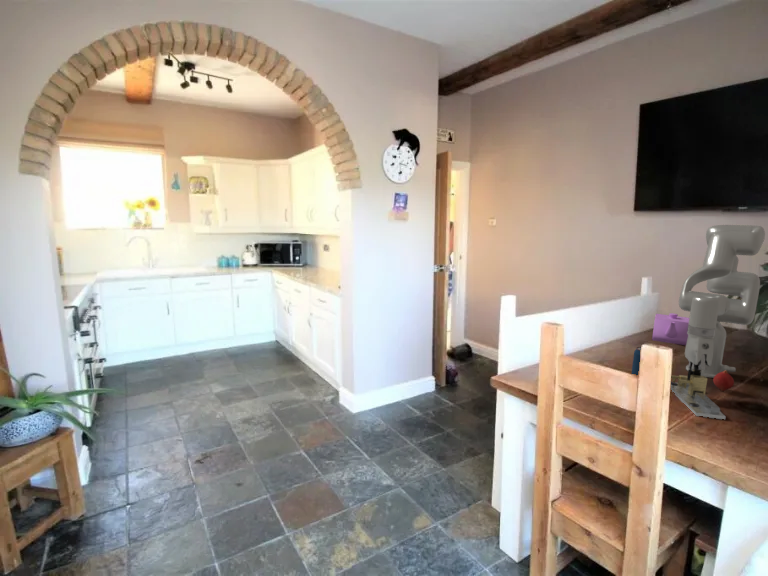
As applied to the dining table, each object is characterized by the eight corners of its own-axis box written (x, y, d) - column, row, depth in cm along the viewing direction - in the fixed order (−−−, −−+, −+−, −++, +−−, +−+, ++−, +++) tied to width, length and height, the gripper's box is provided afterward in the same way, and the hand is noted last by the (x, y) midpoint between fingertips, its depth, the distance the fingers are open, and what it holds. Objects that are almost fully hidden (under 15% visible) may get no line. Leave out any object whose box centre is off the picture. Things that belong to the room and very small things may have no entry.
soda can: (650, 383, 156) (654, 353, 154) (629, 378, 160) (633, 349, 158) (653, 377, 161) (657, 348, 159) (632, 373, 165) (636, 345, 163)
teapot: (651, 343, 205) (654, 316, 202) (653, 332, 225) (656, 307, 222) (688, 349, 196) (692, 321, 194) (687, 337, 216) (691, 311, 214)
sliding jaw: (701, 394, 143) (704, 376, 141) (704, 397, 140) (707, 378, 139) (675, 391, 145) (678, 373, 144) (678, 394, 143) (681, 375, 141)
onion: (707, 387, 153) (711, 366, 151) (723, 387, 152) (727, 367, 151) (719, 393, 147) (723, 373, 145) (736, 394, 147) (740, 373, 145)
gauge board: (690, 387, 152) (691, 375, 152) (724, 419, 128) (727, 406, 127) (664, 384, 155) (666, 372, 154) (694, 415, 130) (696, 402, 129)
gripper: (724, 338, 133) (715, 391, 137) (704, 327, 148) (696, 374, 151) (697, 336, 136) (689, 388, 139) (679, 325, 150) (673, 372, 153)
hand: (693, 381), depth 145 cm, fingers closed
